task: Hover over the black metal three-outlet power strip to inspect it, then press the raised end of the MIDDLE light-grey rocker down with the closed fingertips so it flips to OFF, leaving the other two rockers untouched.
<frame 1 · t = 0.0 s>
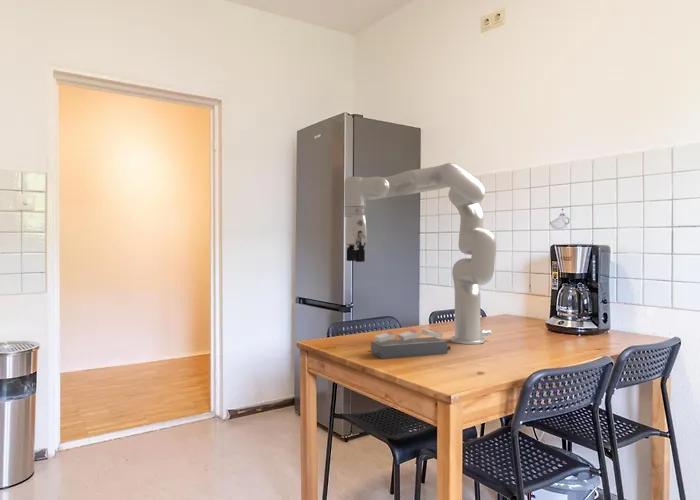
hand: (355, 261, 171), 31 cm above the table, fingers open, 9 cm apart
rocker 2: (408, 335, 164), point 6 cm above the table, hinge at 12.0°
rocker 1: (432, 333, 167), point 6 cm above the table, hinge at -12.0°
rocker 3: (385, 336, 161), point 6 cm above the table, hinge at 12.0°
power strip: (409, 353, 164), on the table
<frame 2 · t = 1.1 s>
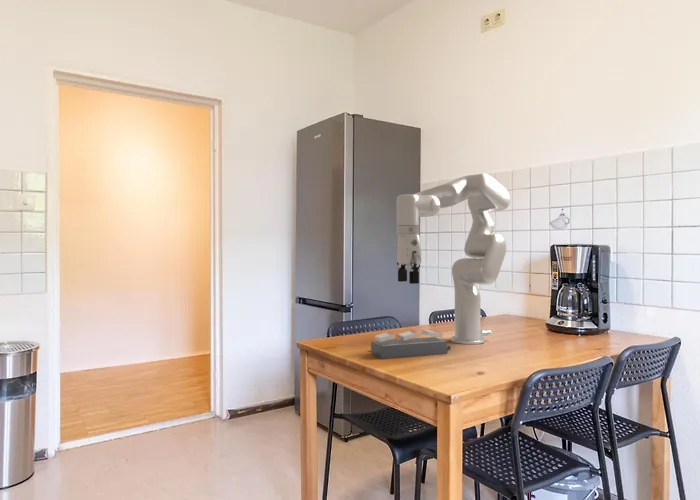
hand: (408, 282, 164), 24 cm above the table, fingers open, 8 cm apart
nothing on the table moved.
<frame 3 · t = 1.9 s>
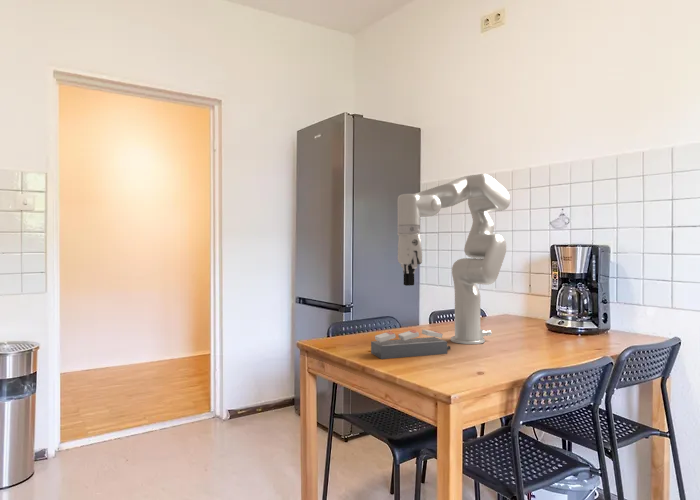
hand: (408, 285, 164), 23 cm above the table, fingers closed
nothing on the table moved.
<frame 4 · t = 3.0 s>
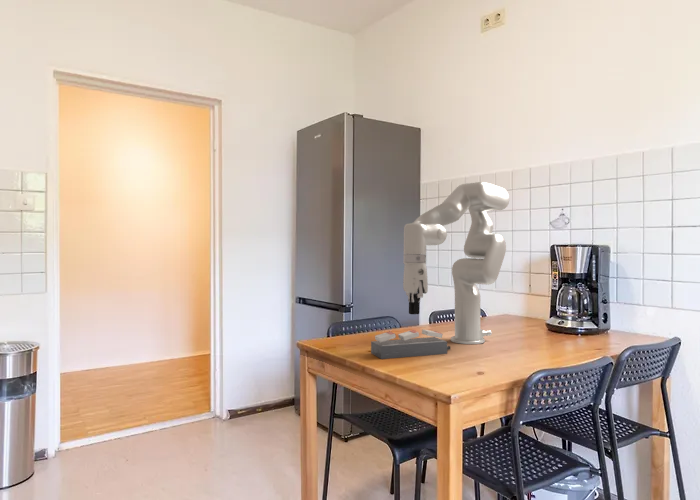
hand: (414, 313, 164), 13 cm above the table, fingers closed
nothing on the table moved.
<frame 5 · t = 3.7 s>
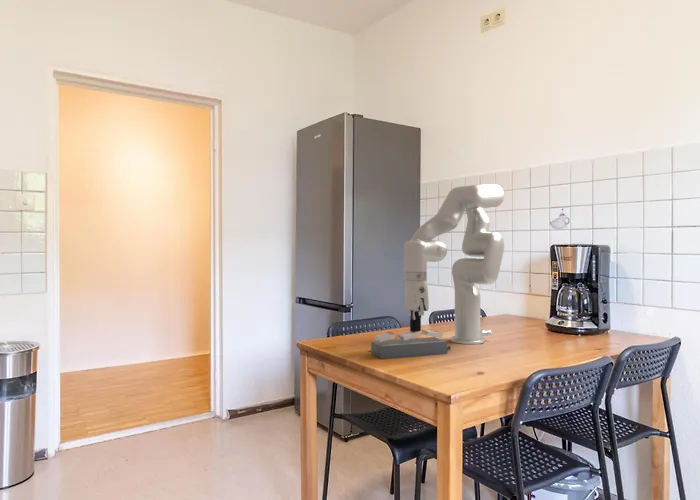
hand: (415, 331, 165), 7 cm above the table, fingers closed
rocker 2: (408, 334, 164), point 6 cm above the table, hinge at 11.9°, touching gripper
everything else where it was.
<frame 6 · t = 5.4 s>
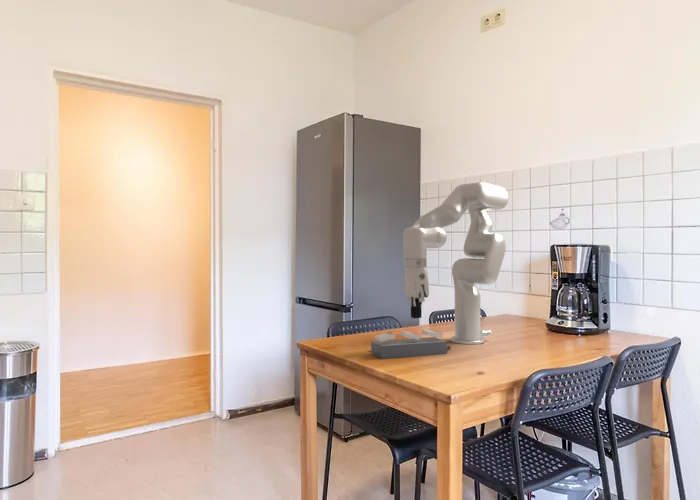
hand: (416, 317, 165), 12 cm above the table, fingers closed
rocker 2: (409, 334, 164), point 6 cm above the table, hinge at -15.5°
everything else where it was.
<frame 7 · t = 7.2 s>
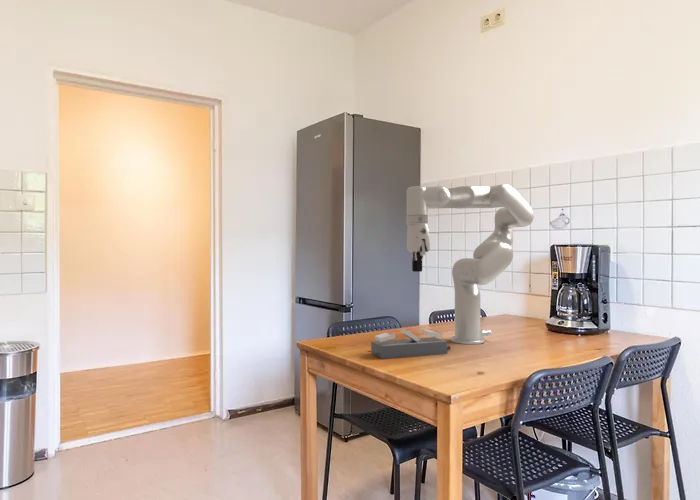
hand: (417, 271, 176), 27 cm above the table, fingers closed
rocker 2: (410, 335, 164), point 6 cm above the table, hinge at -33.5°, touching power strip
everything else where it was.
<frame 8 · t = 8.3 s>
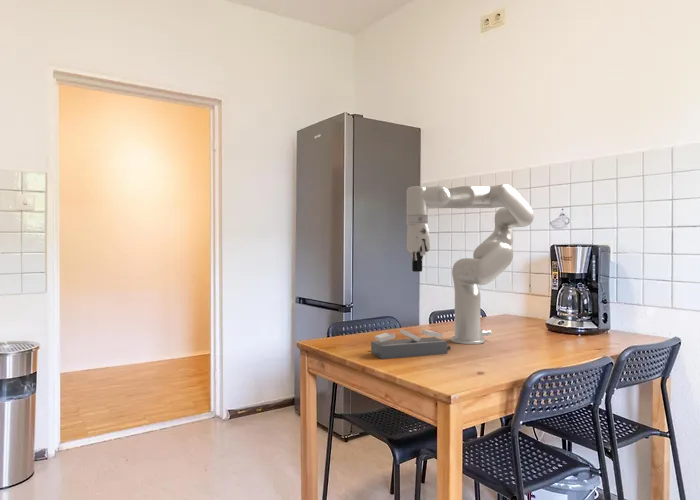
hand: (417, 271, 176), 27 cm above the table, fingers closed
rocker 2: (410, 335, 164), point 6 cm above the table, hinge at -28.1°
everything else where it was.
at the end: rocker 2 at -27° (first picture: +12°); rocker 3 at +12° (first picture: +12°); rocker 1 at -12° (first picture: -12°) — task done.
